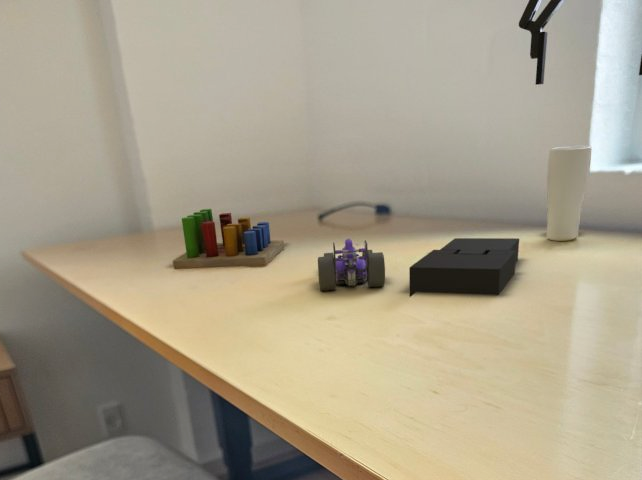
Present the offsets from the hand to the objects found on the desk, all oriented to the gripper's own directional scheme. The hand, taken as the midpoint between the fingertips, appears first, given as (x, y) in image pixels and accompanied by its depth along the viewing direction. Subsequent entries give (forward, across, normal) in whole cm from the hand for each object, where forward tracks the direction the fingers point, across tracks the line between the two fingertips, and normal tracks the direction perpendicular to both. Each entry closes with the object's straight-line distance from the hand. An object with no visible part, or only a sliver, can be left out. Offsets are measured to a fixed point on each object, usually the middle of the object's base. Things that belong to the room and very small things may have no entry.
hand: (589, 80), depth 94 cm
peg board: (+25, -60, -6) cm, 65 cm away
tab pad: (+25, -12, -13) cm, 30 cm away
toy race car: (+25, -30, -20) cm, 44 cm away
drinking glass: (+25, -3, +15) cm, 29 cm away
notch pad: (+25, -12, -22) cm, 35 cm away
